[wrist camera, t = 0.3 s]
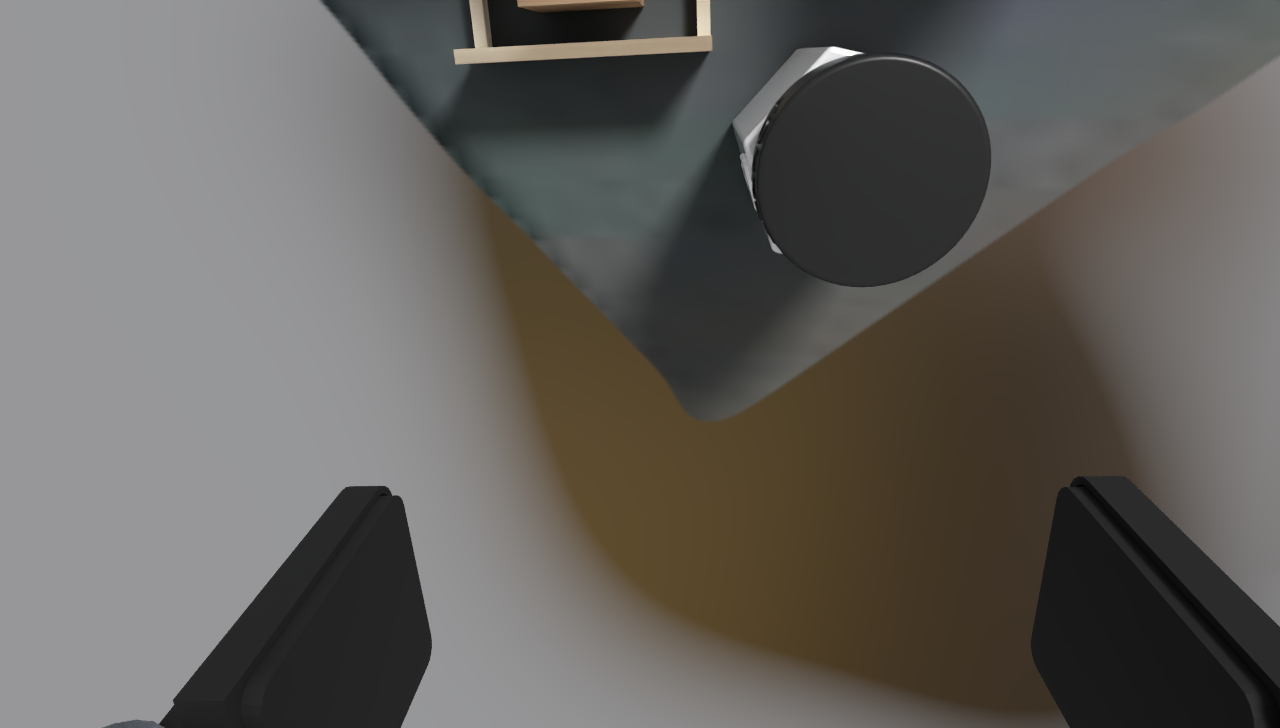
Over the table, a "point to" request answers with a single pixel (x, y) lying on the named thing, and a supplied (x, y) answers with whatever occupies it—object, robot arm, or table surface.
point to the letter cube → (576, 5)
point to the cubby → (577, 50)
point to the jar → (863, 163)
